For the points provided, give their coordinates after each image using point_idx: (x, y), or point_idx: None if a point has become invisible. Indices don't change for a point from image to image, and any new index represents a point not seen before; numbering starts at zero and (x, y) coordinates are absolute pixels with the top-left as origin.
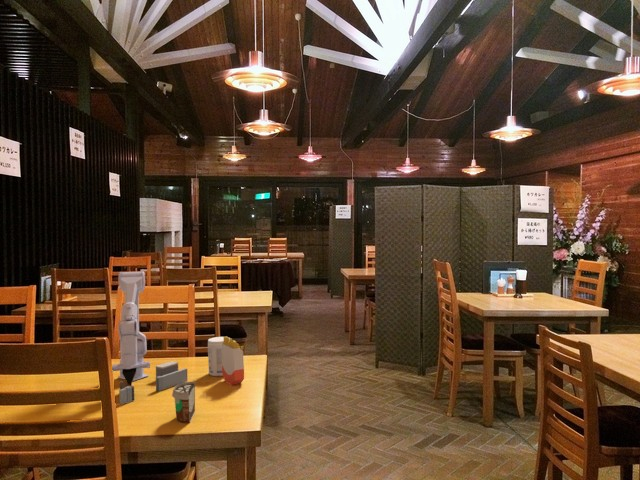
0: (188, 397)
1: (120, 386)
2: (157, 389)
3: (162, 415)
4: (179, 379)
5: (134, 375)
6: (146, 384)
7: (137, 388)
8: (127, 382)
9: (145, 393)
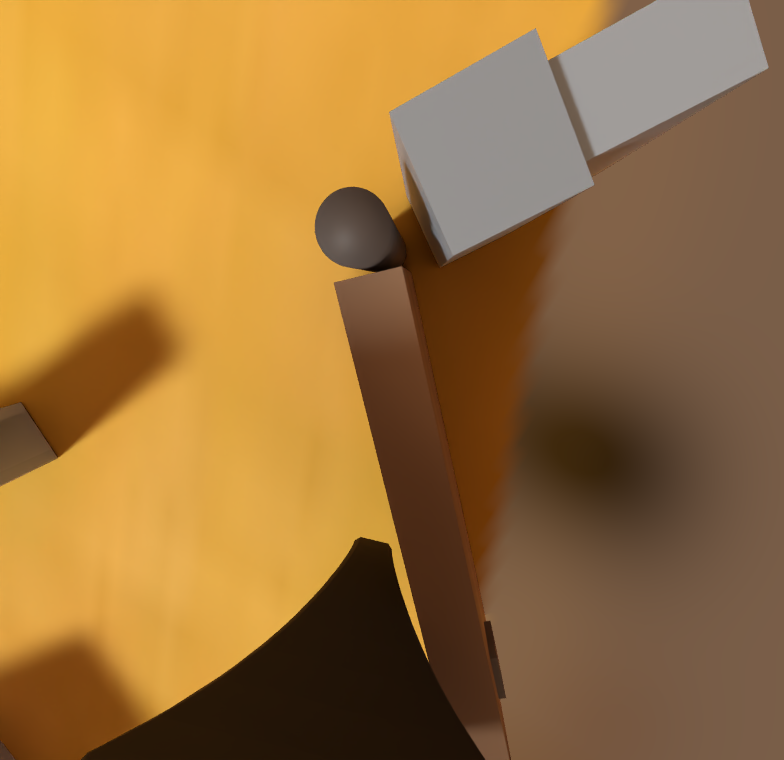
0: None
1: (500, 673)
2: (20, 440)
3: None
4: None
5: (173, 707)
6: None
7: None
8: (403, 623)
9: (192, 434)
